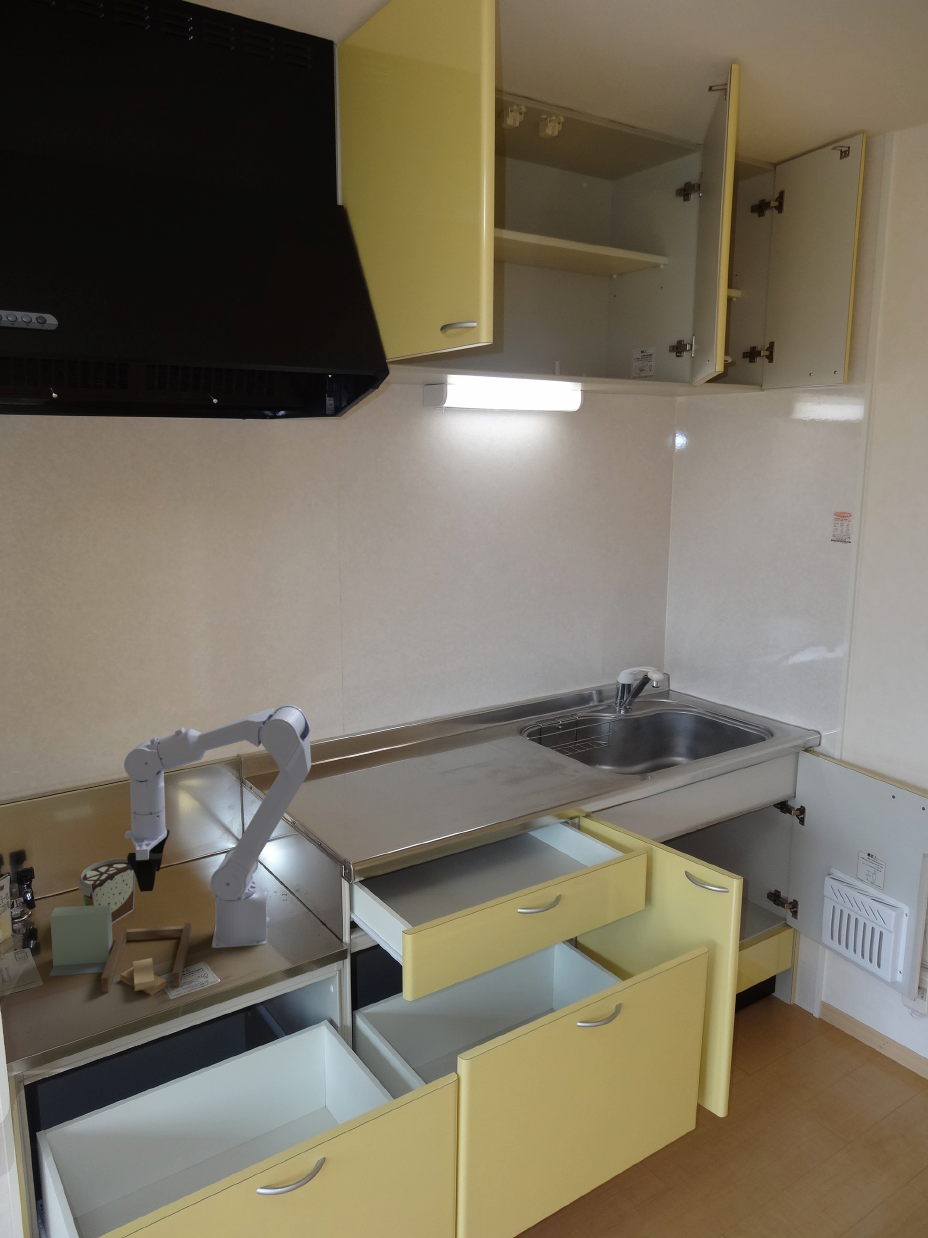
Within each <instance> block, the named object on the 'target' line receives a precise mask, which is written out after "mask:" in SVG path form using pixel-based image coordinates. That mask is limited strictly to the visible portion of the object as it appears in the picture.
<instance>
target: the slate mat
mask: <svg viewBox="0 0 928 1238" xmlns="http://www.w3.org/2000/svg"><path fill="white" fill-rule="evenodd" d="M113 946H114V943H113ZM106 964H107V962H102V963H87V964H73V965H58V966H53V965H52V966H53V967H52V968H51V970H50V973H49V974H48V977H61V976H77V975H90V974H92V975H93V974H103V972H104V969H105V966H106Z"/></svg>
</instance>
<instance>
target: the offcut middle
mask: <svg viewBox="0 0 928 1238" xmlns="http://www.w3.org/2000/svg"><path fill="white" fill-rule="evenodd" d="M120 981H122V982H123V983H125V984H126V985H127V984H128V985H129V986H132V987H134V988H135V985H134V969H133V966H132V967H131V968H129V969H127V970H125V971H123V972H121V973H120ZM167 982H168V981H167V980H166V979H164V978H162V977H160V976H158V975H156V974H154V985H155V987H153V988H148V989H143V990H141V991H142V992H144V993H146V994H148V995H150V996H153V995H155V994H157V993H158V992H159V991H161V990H163V989H165V988H167Z"/></svg>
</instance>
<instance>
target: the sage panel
mask: <svg viewBox="0 0 928 1238" xmlns="http://www.w3.org/2000/svg"><path fill="white" fill-rule="evenodd" d="M49 918H50V933H51V948H52V949H51V951H52V966H58V965H73V964H87V963H102V962H107V961H108V959H109V956H110V953H111V951H112V948H113V944H114V942H113V941H114V940H113V924H112V919H111V905H93V906H85V905H81V906H79V905H77V906H63V907H61V906H60V907H54V910H53V911H52V913H51V915H50V917H49Z"/></svg>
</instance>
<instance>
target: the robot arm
mask: <svg viewBox="0 0 928 1238" xmlns="http://www.w3.org/2000/svg"><path fill="white" fill-rule="evenodd" d="M274 710H275V708H274V707H273V708H268V709H265V710H261V711H259V712H256V713H253V714H250V715H247V716H244V717H241V718H239V719H236V720H233V721H231V722H227V723H225V724H222V725H220V726H216V727H213V728H211V729H208V730H206V731H203V732H201V731H198V730H196V729H194V728H189V729H185V727H180V728H177V729H176V730H175V731H174V733H173V734H170V735H168V736H163V737H161V738H159V737H158V736H155V737H153V738H151V739H150V740H144V741H143V742H140V744H139V745H137V746H135V748H134V749H132V751H130V752H129V753H128V754H127V755H126V756H125V759H124V762H123V767H124V770H125V773H126V774H127V776H129V786H130V787H129V791H130V792H129V794H130V818H131V821H130V822H131V824H130V826H131V830H127V831H125V833H124V839H126V840H129V839H130V840H131V842H132V844H133V846H134V847H135V848H134V849H135V852H128V854H127V856H126V858H127V861H128V863H129V864H130V866H131V867H132V869H133V871H134V873H135V880H136V883H137V885H138V889H139V891H140V892H143V893H144V892H153V890H154V888H155V883H156V882H155V881H156V876H157V875H156V873H157V872H160V870H161V867H162V862H163V861H162V860H163V856H164V855H163V854H164V850H165V849H164V848H165V845H166V842H167V840H168V838H169V836H170V833H171V832H170V829H168V828H166V802H165V801H166V799H165V798H166V797H165V796H166V795H165V776H164V775H165V774H164V773H165V771H170V770H173V769H176V768H179V767H183V766H186V765H189V764H192V763H194V762H197V761H201V760H202V759H203V757H204V756H205V753H206V751H209V750H214V749H217V748H221V747H225V746H229V745H232V744H237V743H239V742H243V741H246V742H249V744H252V745H253V746H254V747H258V748H259V747H260V745H262V746H263V748H264V749H265V751H266V752H268V754H269V755H270V756H271V758H272V759H273V760H274V761H275V762H276V765H277V766H278V770H279V773H278V774H277V776H276V778H275V779H274V781H273V783H272V785H271V786H270V788H269V790H268V792H267V793H266V795H265V796H264V798H263V800H262V802H261V803H260V805H259V806H258V809H257V810H256V812H255V813H254V814H253V817H252V819H251V820H250V822H249V824H248V825H247V827H246V829H245V831H244V832H243V834H242V836H241V837H240V839H239V840H238V843H237V844H236V845H235V846H234V847H232V848H230V849H229V850H228V851H227V852H226V854H225V855H224V859H222V861H221V863H220V864H219V866H218V868H217V869H216V870H215V871H214V872H213V874H212V875H211V878H210V888H211V890H212V892H213V893H214V908H215V909H214V911H215V913H214V915H215V917H214V918H215V919H214V920H215V927H214V930H213V936H212V937H213V938H212V943H211V948H212V949H220V948H233V947H234V948H235V947H249V946H252V947H253V946H262V945H263V946H265V945H267V941H268V929H269V928H270V917H269V913H268V911H269V910H268V904H269V903H268V901H269V900H268V888H266V887H258V886H257V885H256V882H255V880H254V877H253V875H254V874H255V873H256V872H257V870H258V869H259V868H258V867H259V858H260V855H261V854H262V852H263V850H264V849H265V847H266V846H267V843H268V842H269V840H270V838H271V837H272V835H273V833H274V832H275V830H276V828H277V826H278V825H279V824H280V821H281V820H282V819H283V816H284V815H285V813H286V811H287V810H288V808H289V807H290V805H291V803H292V801H293V800H294V798H295V796H296V794H298V791H299V789H300V788H301V786H302V784H303V782H304V781H305V779H306V777H308V774H309V773H310V771H311V768H312V754H311V729H312V728H311V725H310V723H309V721H308V719H307V717H306V715H305V713H304V711H302V710H303V709H300V708H299V707H297V706H296V705H291V704H286V705H282V706H280V707H278V708H277V709H276V710H275V711H274Z"/></svg>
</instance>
